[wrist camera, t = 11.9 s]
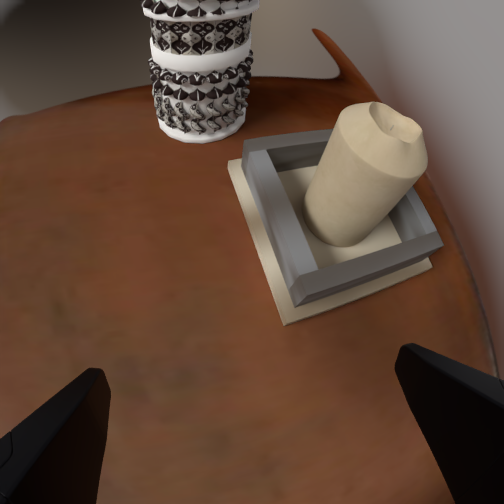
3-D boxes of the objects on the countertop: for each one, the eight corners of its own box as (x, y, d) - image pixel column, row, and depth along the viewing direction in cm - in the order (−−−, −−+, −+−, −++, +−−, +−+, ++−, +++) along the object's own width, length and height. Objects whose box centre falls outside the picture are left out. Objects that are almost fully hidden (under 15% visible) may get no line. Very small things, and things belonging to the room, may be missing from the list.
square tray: (425, 271, 22) (454, 252, 18) (283, 326, 19) (298, 313, 16) (360, 148, 27) (375, 119, 23) (227, 168, 24) (229, 134, 20)
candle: (372, 199, 23) (435, 112, 14) (364, 258, 21) (446, 178, 12) (309, 175, 23) (351, 73, 14) (293, 233, 21) (341, 130, 12)
